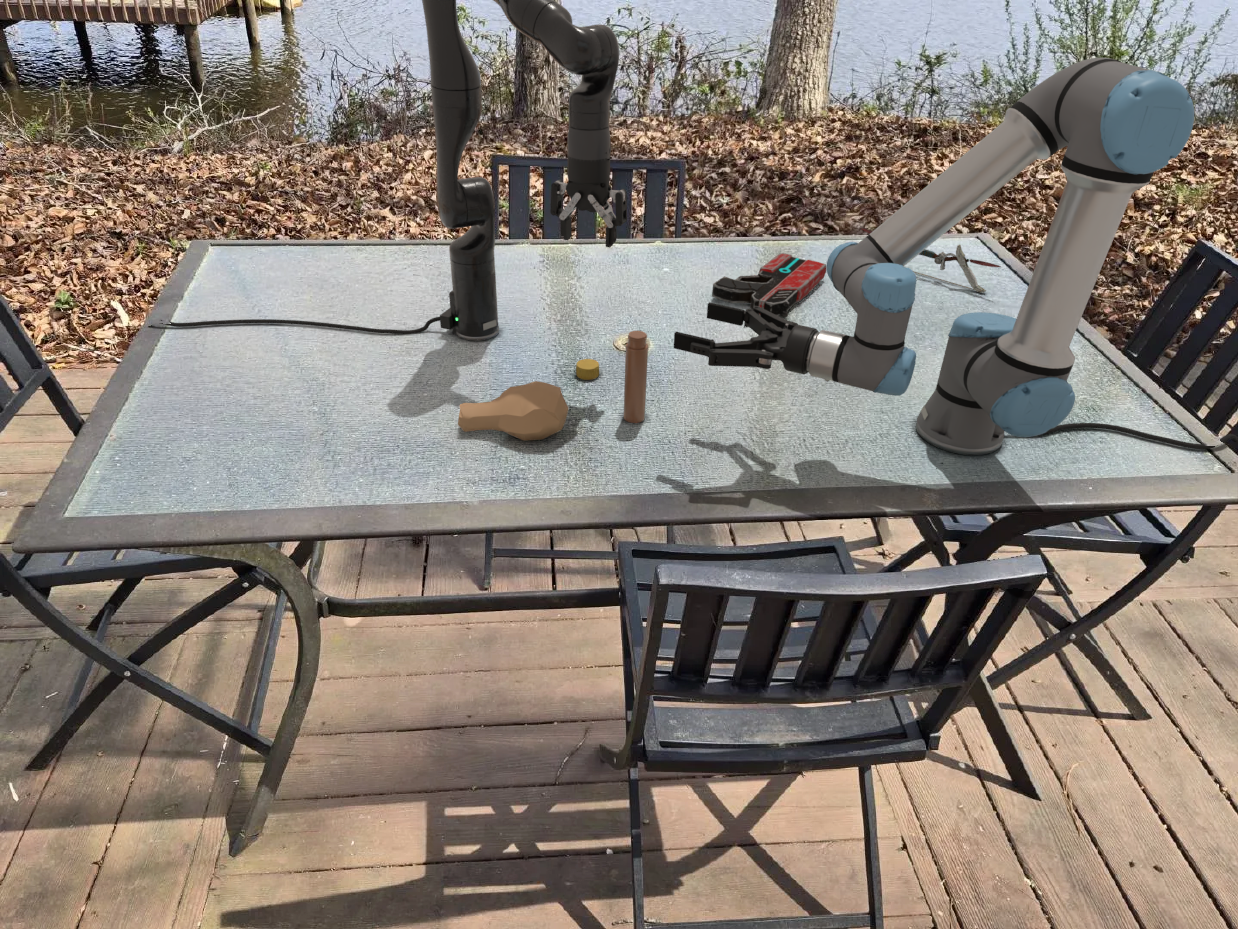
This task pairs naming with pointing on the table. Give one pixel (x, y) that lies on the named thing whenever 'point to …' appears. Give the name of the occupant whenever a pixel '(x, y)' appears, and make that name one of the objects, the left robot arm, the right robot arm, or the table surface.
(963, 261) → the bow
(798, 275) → the gun
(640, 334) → the jar
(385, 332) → the left robot arm
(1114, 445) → the table surface
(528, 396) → the squash
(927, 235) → the right robot arm
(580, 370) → the lid
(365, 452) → the table surface
